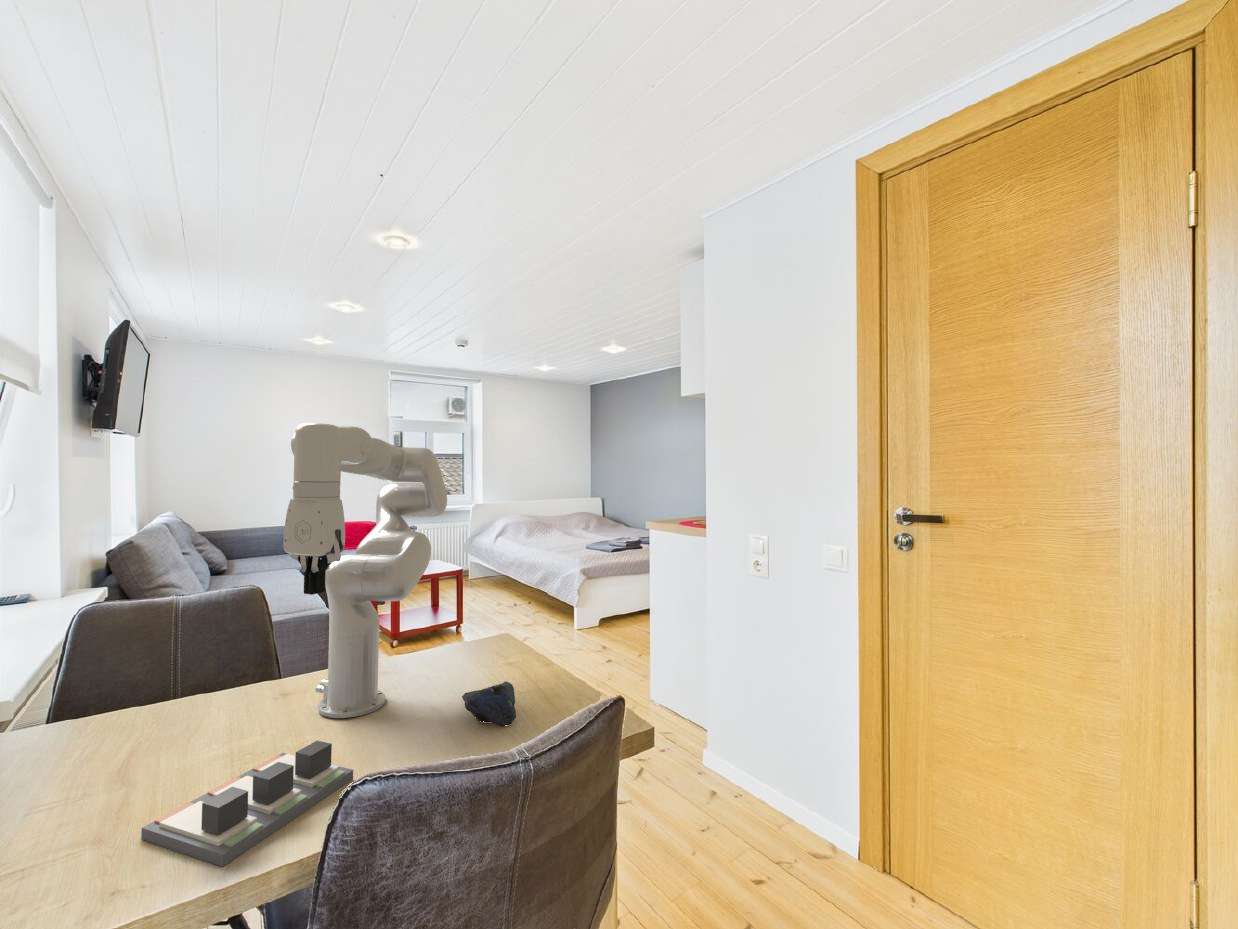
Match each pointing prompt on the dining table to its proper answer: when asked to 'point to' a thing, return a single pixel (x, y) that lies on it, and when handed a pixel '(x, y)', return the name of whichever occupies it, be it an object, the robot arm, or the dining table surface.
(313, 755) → the block
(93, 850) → the dining table surface
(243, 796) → the block
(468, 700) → the rock
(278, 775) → the block
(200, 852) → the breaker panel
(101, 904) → the dining table surface
